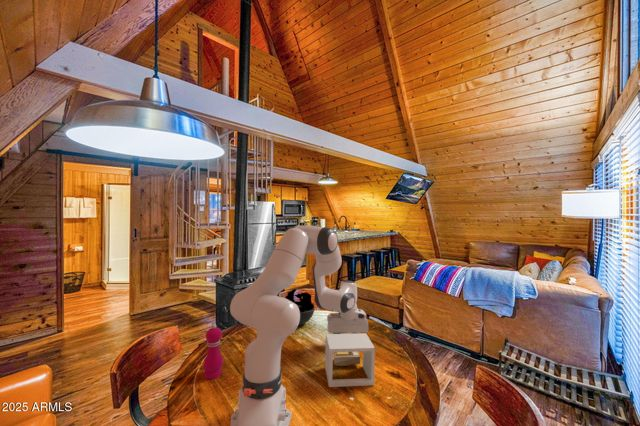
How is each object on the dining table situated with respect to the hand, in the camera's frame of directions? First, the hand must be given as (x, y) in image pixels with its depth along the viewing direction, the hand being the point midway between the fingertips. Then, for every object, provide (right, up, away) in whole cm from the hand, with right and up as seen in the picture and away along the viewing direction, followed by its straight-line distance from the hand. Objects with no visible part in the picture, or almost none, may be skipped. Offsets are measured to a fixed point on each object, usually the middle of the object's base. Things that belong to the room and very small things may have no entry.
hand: (347, 340), depth 133 cm
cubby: (-2, -2, -26) cm, 26 cm away
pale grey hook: (-4, -1, -2) cm, 4 cm away
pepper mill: (-56, -1, -27) cm, 62 cm away
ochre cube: (-4, -2, -16) cm, 17 cm away
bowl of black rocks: (-27, -2, +24) cm, 36 cm away
